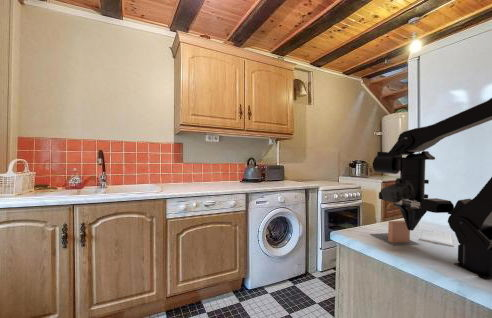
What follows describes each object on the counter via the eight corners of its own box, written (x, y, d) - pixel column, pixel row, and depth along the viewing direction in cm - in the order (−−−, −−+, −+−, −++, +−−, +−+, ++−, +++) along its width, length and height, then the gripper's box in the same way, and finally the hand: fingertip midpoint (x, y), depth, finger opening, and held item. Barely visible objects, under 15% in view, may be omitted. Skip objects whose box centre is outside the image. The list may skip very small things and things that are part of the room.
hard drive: (420, 228, 80) (418, 237, 71) (452, 234, 75) (454, 245, 66) (420, 233, 80) (418, 243, 71) (452, 239, 75) (454, 250, 66)
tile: (409, 241, 69) (410, 221, 69) (392, 242, 68) (392, 222, 68) (405, 239, 71) (405, 220, 71) (388, 240, 70) (388, 221, 70)
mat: (420, 245, 68) (420, 244, 68) (393, 247, 66) (393, 245, 66) (392, 234, 77) (392, 232, 77) (369, 235, 76) (369, 234, 76)
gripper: (364, 172, 73) (363, 221, 73) (418, 179, 55) (416, 244, 55) (394, 172, 75) (393, 220, 75) (456, 178, 57) (454, 241, 57)
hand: (410, 230), depth 66 cm, fingers closed
